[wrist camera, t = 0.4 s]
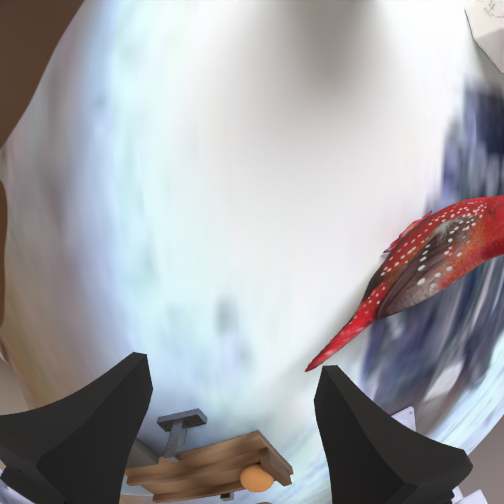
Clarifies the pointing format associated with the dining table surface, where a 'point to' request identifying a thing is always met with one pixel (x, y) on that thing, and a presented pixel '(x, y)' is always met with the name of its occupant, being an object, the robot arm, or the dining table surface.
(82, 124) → the dining table surface
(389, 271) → the red pointed-tail figurine
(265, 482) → the ball
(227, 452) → the wooden rack
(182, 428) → the lever stand
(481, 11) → the jar
